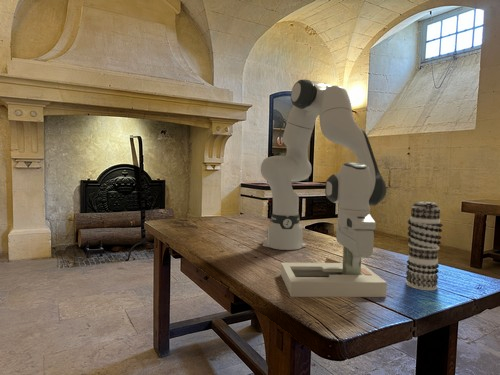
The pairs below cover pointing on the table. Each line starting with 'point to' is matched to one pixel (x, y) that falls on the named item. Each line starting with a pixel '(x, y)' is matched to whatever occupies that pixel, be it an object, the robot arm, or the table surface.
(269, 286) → the table surface
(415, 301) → the table surface
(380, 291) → the keyhole plate
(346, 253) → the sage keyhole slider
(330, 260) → the shard
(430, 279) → the decorative candle
